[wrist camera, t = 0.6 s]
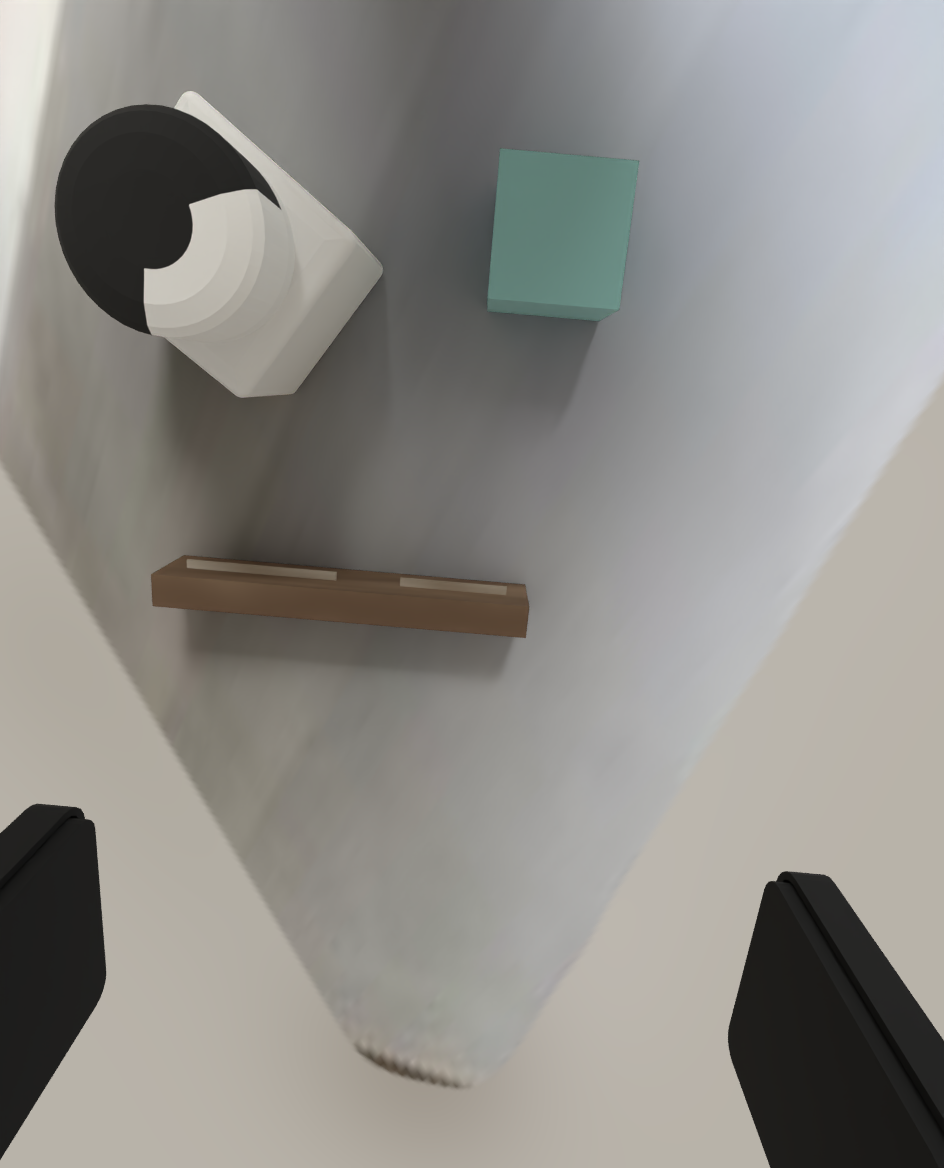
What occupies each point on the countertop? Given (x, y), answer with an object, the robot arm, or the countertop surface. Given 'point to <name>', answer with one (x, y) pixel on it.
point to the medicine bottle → (208, 244)
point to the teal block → (560, 234)
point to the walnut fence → (342, 595)
